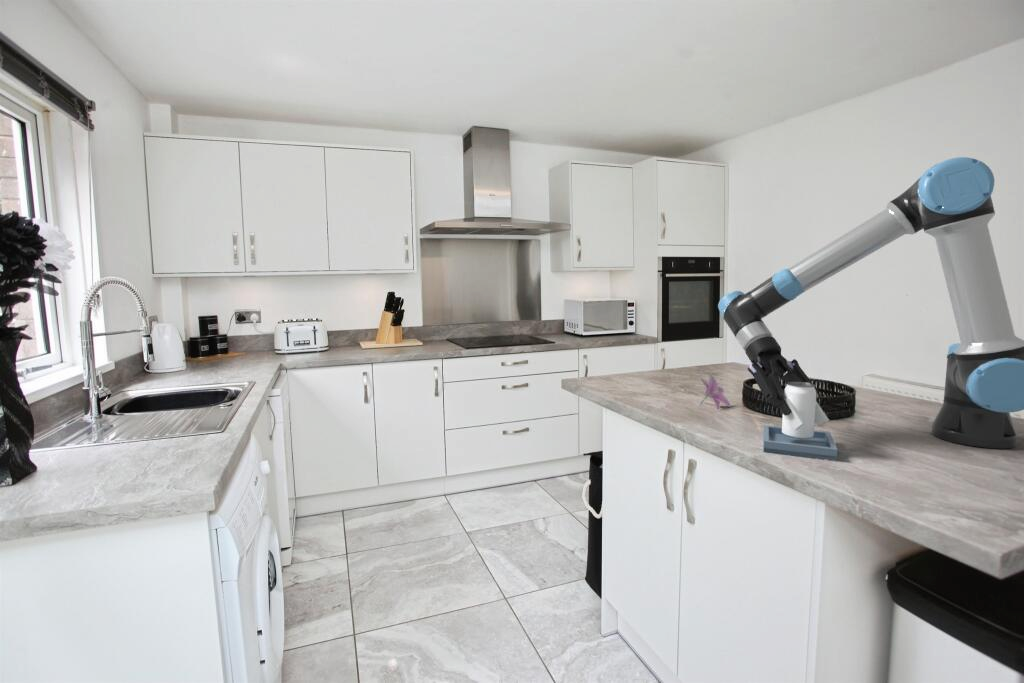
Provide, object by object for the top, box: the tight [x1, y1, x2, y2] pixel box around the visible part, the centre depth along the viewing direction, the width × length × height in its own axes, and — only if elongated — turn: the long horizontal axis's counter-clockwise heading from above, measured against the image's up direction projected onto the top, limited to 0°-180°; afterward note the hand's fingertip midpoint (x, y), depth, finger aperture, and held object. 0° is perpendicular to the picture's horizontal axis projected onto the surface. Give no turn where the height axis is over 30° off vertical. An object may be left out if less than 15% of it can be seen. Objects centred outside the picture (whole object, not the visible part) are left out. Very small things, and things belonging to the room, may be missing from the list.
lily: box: [699, 372, 732, 410], centre depth 155 cm, size 12×12×10 cm
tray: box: [763, 424, 838, 462], centre depth 117 cm, size 14×14×2 cm
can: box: [781, 382, 817, 439], centre depth 116 cm, size 6×6×12 cm
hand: (811, 424), depth 113 cm, fingers closed on can, 6 cm apart
